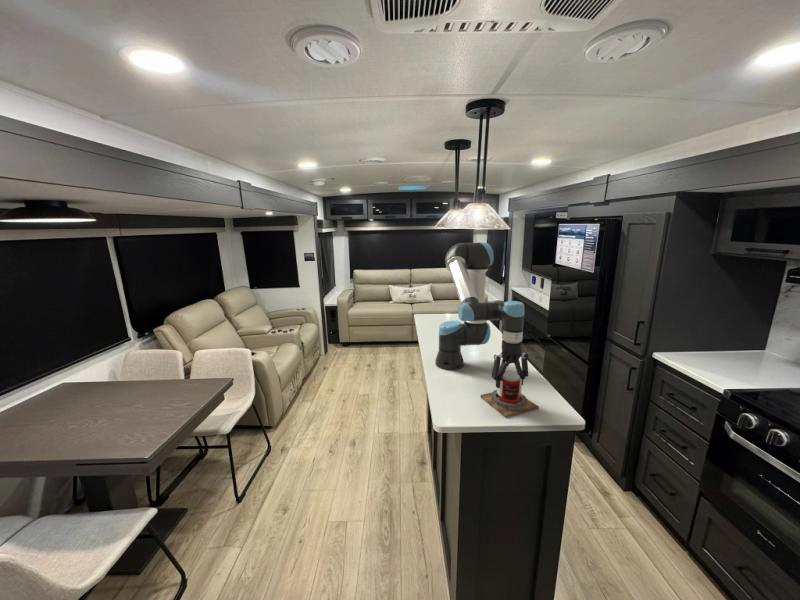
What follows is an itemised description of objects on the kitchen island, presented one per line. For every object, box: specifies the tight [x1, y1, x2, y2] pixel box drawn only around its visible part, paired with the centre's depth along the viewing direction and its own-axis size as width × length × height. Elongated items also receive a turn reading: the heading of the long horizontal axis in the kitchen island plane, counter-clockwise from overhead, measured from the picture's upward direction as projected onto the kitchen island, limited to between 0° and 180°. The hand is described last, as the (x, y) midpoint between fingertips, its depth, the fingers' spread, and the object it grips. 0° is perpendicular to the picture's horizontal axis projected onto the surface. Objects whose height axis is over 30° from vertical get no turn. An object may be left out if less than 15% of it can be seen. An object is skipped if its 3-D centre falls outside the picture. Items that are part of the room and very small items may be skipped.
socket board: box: [480, 389, 540, 419], centre depth 123 cm, size 16×16×3 cm
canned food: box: [499, 370, 520, 404], centre depth 123 cm, size 8×8×11 cm
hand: (508, 393), depth 123 cm, fingers closed on canned food, 8 cm apart
